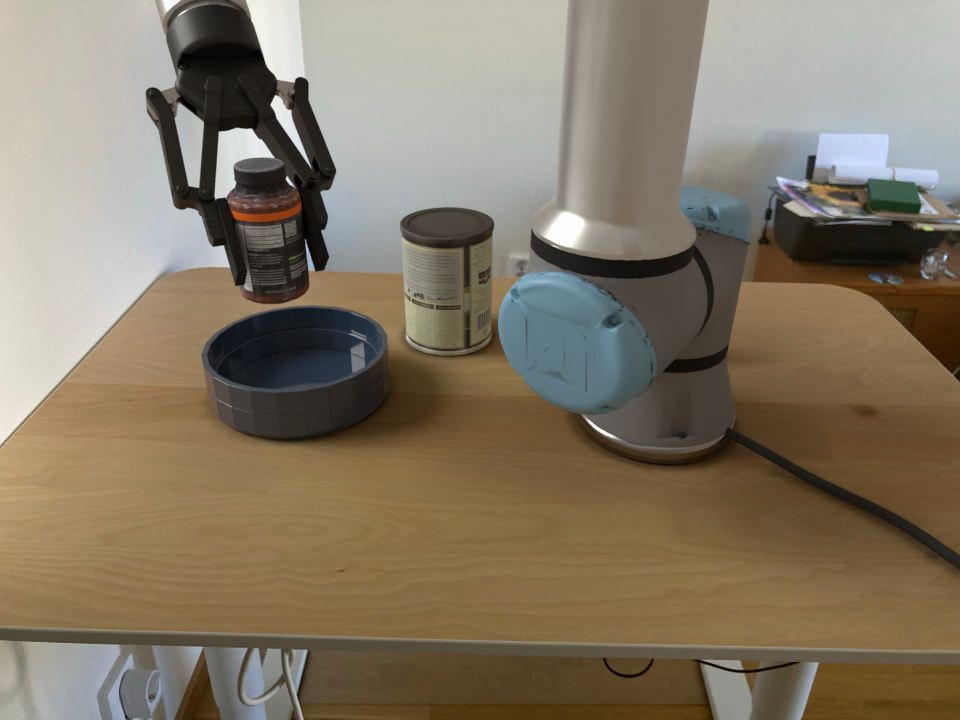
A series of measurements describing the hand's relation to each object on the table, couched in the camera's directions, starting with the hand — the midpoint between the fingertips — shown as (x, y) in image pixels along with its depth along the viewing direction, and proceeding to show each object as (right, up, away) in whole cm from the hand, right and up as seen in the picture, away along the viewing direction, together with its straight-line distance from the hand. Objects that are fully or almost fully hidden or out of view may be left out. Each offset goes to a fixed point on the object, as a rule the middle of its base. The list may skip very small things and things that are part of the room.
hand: (282, 271), depth 63 cm
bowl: (-2, -10, +18) cm, 21 cm away
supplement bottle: (-2, -2, +5) cm, 5 cm away
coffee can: (+12, -5, +29) cm, 32 cm away
